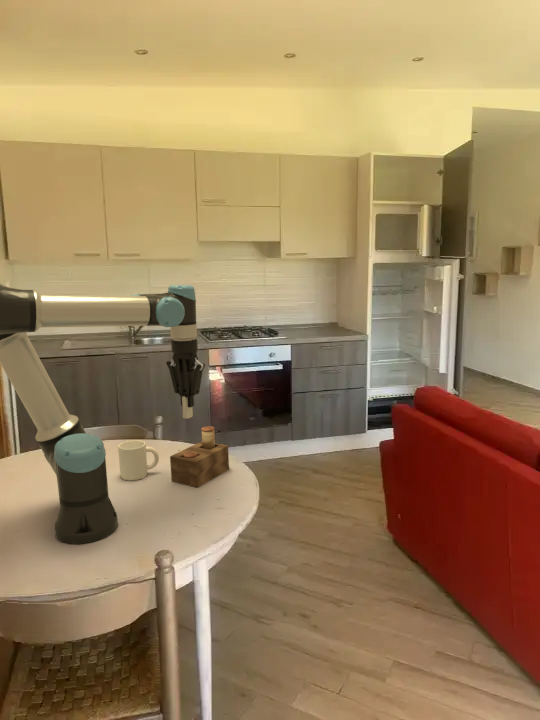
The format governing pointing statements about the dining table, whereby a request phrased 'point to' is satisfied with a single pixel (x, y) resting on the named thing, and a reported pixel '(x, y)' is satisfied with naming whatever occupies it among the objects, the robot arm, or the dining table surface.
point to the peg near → (190, 455)
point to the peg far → (208, 437)
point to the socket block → (199, 465)
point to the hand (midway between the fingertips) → (188, 417)
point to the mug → (135, 459)
